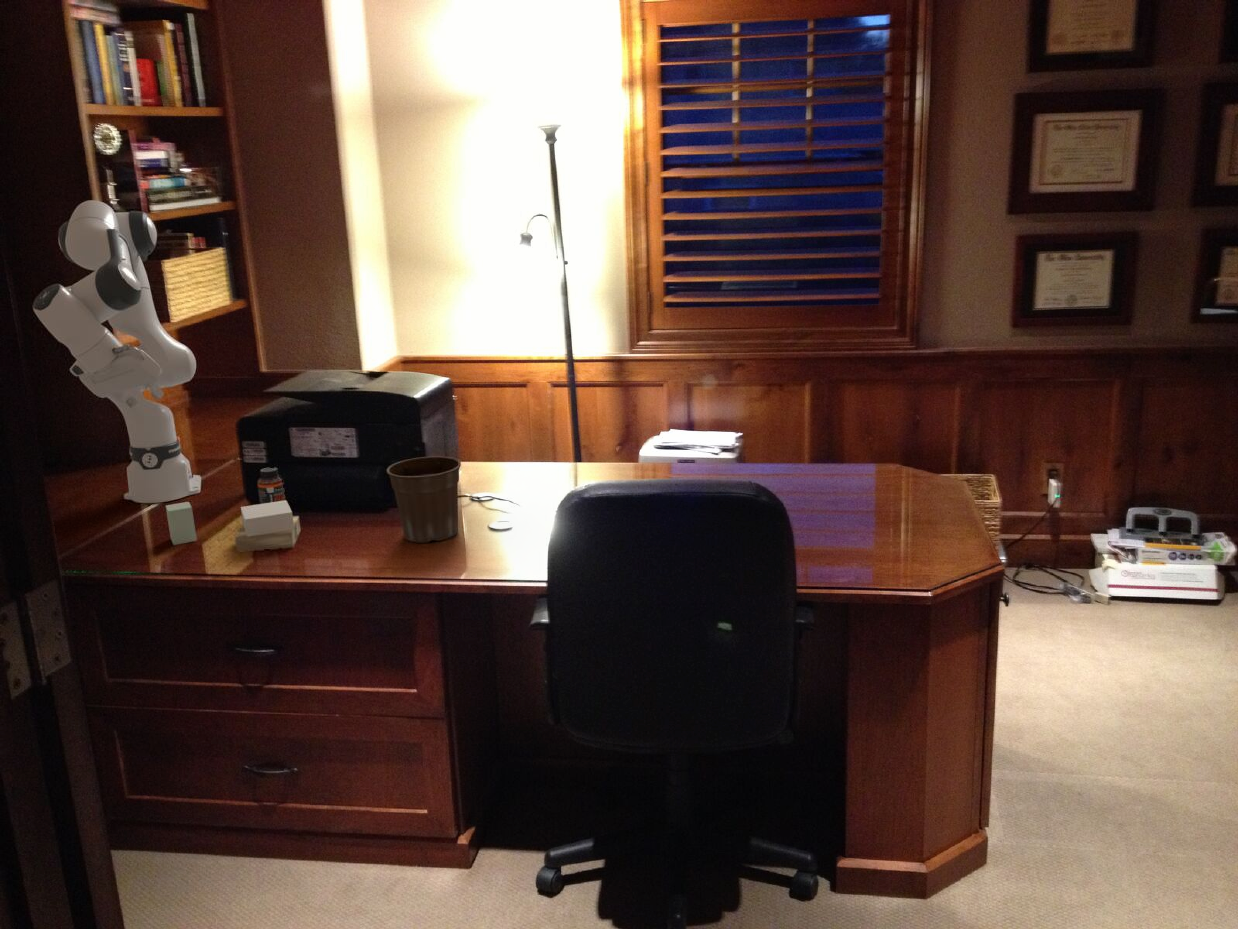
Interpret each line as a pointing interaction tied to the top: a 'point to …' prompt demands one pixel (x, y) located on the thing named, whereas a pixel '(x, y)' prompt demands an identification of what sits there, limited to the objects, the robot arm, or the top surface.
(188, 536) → the sage block
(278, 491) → the supplement bottle
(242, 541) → the maple base slab
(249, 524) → the white top slab
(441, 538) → the plant pot
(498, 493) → the top surface
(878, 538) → the top surface
